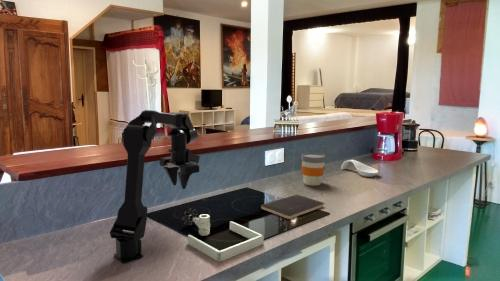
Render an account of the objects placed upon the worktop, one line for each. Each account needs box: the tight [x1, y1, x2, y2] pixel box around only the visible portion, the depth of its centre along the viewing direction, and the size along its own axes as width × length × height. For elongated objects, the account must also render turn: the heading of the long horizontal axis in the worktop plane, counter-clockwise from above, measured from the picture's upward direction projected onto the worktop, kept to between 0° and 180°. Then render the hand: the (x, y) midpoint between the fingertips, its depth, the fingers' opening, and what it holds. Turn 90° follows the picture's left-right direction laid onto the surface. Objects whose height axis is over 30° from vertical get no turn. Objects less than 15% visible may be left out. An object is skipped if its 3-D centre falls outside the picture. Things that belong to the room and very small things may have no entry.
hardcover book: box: [259, 193, 325, 220], centre depth 160 cm, size 16×23×2 cm
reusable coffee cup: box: [300, 152, 326, 187], centre depth 197 cm, size 12×12×15 cm
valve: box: [181, 207, 211, 237], centre depth 135 cm, size 7×7×12 cm
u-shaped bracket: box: [187, 220, 265, 263], centre depth 124 cm, size 19×16×3 cm
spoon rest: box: [340, 159, 379, 178], centre depth 220 cm, size 24×12×7 cm, turn 37°
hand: (179, 187), depth 142 cm, fingers open, 6 cm apart
